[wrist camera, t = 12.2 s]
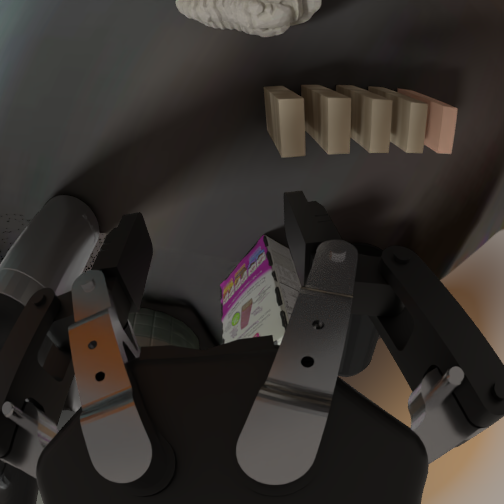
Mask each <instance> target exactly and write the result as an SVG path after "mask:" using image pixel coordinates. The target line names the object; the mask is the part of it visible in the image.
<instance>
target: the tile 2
mask: <svg viewBox="0 0 504 504" xmlns="http://www.w3.org/2000/svg"><path fill="white" fill-rule="evenodd" d="M301 97H302V98H304V117H305V130H306V132H307V133H308V134H309V135H310V136H311V137H312V138H313V139H314V140H315V141H316V142H317V143H318V144H319V145H320V146H321V147H322V148H323V150H324V151H325V152H326V153H327V154H348V153H350V130H351V98H350V97H347V96H345V95H343V94H340V93H338V92H336V91H333V90H331V89H328V88H326V87H323V86H321V85H301Z"/></svg>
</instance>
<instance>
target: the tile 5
mask: <svg viewBox="0 0 504 504" xmlns="http://www.w3.org/2000/svg"><path fill="white" fill-rule="evenodd" d="M397 92H398V93H401V94H403V95H406V96H409V97H411V98H414V99H416V100H419V101H421V102H424V103H426V104H428V110H427V120H426V130H425V138H424V145H426V146H428V147H429V148H431V149H432V150H434V151H435V152H436V153H445V154H451V151H452V146H453V139H454V133H455V126H456V118H457V109H458V108H455V107H453V106H451V105H448V104H446V103H444V102H441V101H439V100H436V99H434V98H431V97H428V96H426V95H423V94H420V93H418V92H415V91H412V90H406V89H398V91H397Z"/></svg>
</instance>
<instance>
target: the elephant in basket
mask: <svg viewBox="0 0 504 504" xmlns="http://www.w3.org/2000/svg"><path fill="white" fill-rule="evenodd" d="M128 320H129V322H130V324H131V326H132V329H133V332H134V335H135V337H136V340H137V343H138V346H139V348H140V351H141V347H146V346H165V345H173V346H179V347H186V348H192V349H199V341H198V338H197V336H195V334H194V332H193V331H192V330H191V329H190V328H189V327H187V326H186V325H185V324H184V323H183V322H182V321H180V320H177V319H175V318H173V317H171V316H169V315H167V314H165V313H163V312H159V311H154V310H151V309H147V308H140V311H139V312H135V313H129V315H128Z"/></svg>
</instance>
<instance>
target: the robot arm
mask: <svg viewBox="0 0 504 504" xmlns="http://www.w3.org/2000/svg"><path fill="white" fill-rule="evenodd" d="M284 224H285V234H286V238H287V242H288V245H289V248H290V251H291V255H292V258H293V261H294V265H295V268H296V271H297V274H298V278H299V281H300V284H301V289H300V291H299V294H298V297H297V300H296V302H295V305H294V308H293V311H292V314H291V317H290V319H289V322H288V325H287V328H286V330H285V333H284V336H283V338H282V341H281V344H280V345H274V341H273V335H268V336H260V337H252V338H244V339H237V340H234V341H231V342H228V343H225V344H222V345H219V346H216V347H213V348H210V349H206V350H199V349H192V348H186V347H179V346H173V345H165V346H146V347H141V351H140V348H139V346H138V343H137V340H136V337H135V335H134V332H133V329H132V326H131V324H130V322H129V320H128V315H129V313H135V312H139V311H140V306H141V302H142V297H143V293H144V288H145V284H146V280H147V275H148V271H149V267H150V263H151V259H152V255H153V248H152V242H151V239H150V236H149V233H148V230H147V227H146V224H145V221H144V218H143V216H142V214H141V213H140V212H138V213H132V214H127V215H123V217H122V219H121V221H120V223H119V225H118V227H117V228H114V229H113V230H112V231H111V232H110V233H109V234H108V235H107V236H106V238H105V241H104V243H103V245H102V247H101V249H100V252H99V253H98V256H97V258H96V260H95V262H94V264H93V267H92V269H91V270H90V271H87V272H85V273H83V274H82V272H83V269H84V267H85V265H86V263H87V261H88V259H89V257H90V255H91V252H92V250H93V248H94V246H95V244H96V242H97V240H98V238H99V224H98V221H97V218H96V217H95V215H94V213H93V212H92V210H91V209H90V208H89V207H88V206H87V205H86V204H85V203H84V202H82V201H81V200H79V199H77V198H75V197H73V196H68V195H59V196H56V197H53V198H52V199H50V200H49V201H48V202H47V203H46V204H45V206H44V207H43V208H42V209H41V210H40V212H38V213H37V214H36V215H35V216H34V218H33V219H32V220H31V221H30V223H29V224H28V225H27V227H26V228H25V229H24V230H23V232H22V233H21V234H20V236H19V237H18V238H17V240H16V241H15V242H14V244H13V245H12V247H11V248H10V249H9V251H8V252H7V254H6V256H5V258H4V259H3V261H2V262H1V264H0V504H36V501H37V495H38V490H39V491H40V494H41V497H42V500H43V503H44V504H421V498H422V493H423V489H424V485H425V482H426V478H427V474H428V464H430V463H431V462H433V461H434V460H436V459H438V458H439V457H441V456H442V455H444V454H445V453H447V452H448V451H450V450H451V449H453V448H454V447H458V446H460V445H461V444H463V443H465V442H466V441H468V440H470V439H471V438H473V437H474V436H476V435H477V434H479V433H481V432H482V431H483V430H485V429H486V428H488V427H489V426H491V425H492V424H494V423H495V422H496V421H498V420H499V419H501V418H502V417H503V416H504V365H503V363H502V362H501V360H500V359H499V357H498V356H497V354H496V353H495V351H494V350H493V348H492V347H491V346H490V344H489V343H488V341H487V340H486V339H485V337H484V336H483V334H482V333H481V332H480V330H479V329H478V328H477V326H476V325H475V324H474V322H473V321H472V320H471V318H470V317H469V316H468V315H467V313H466V312H465V311H464V309H463V308H462V307H461V306H460V304H459V303H458V302H457V301H456V299H455V298H454V297H453V296H452V295H451V294H450V292H449V291H448V290H447V288H446V287H445V286H444V285H443V284H442V283H441V281H440V280H439V279H438V278H437V277H436V276H435V274H434V273H433V272H432V271H431V270H430V269H429V268H428V267H427V265H426V264H425V263H424V262H423V261H422V260H421V259H420V258H419V257H418V255H417V254H416V253H415V252H413V251H412V250H410V249H408V248H406V247H403V246H390V247H387V248H386V249H384V251H383V252H382V256H381V257H375V256H366V255H361V254H358V251H357V249H356V248H355V247H354V246H353V245H352V244H350V243H348V242H346V241H343V240H342V238H341V236H340V234H339V233H338V231H337V229H336V227H335V225H334V224H333V222H332V220H331V218H330V216H328V213H327V211H326V209H325V208H324V207H323V206H322V205H321V204H319V203H318V202H316V201H312V202H308V201H307V199H306V197H305V195H304V194H303V192H302V191H294V192H285V193H284ZM350 314H358V315H368V316H369V318H370V320H371V321H372V323H373V325H374V326H375V328H376V330H377V331H378V333H379V335H380V336H381V338H382V339H383V341H384V343H385V344H386V346H387V348H388V349H389V351H390V353H391V355H392V356H393V358H394V360H395V361H396V363H397V365H398V367H399V368H400V370H401V372H402V374H403V375H404V377H405V379H406V381H407V382H408V384H409V386H410V388H411V390H412V391H413V392H412V393H411V395H410V397H409V401H408V409H409V412H410V415H411V428H409V427H408V426H406V425H405V424H403V423H402V422H401V421H399V420H398V419H396V418H395V417H393V416H392V415H390V414H389V413H387V412H386V411H385V410H383V409H382V408H380V407H379V406H378V405H376V404H375V403H373V402H372V401H371V400H369V399H368V398H367V397H365V396H364V395H362V394H361V393H360V392H358V391H357V390H355V389H354V388H353V387H351V386H350V385H349V384H347V383H346V382H345V381H343V380H342V379H341V378H339V377H338V376H337V375H338V371H339V367H340V362H341V358H342V353H343V348H344V344H345V339H346V334H347V328H348V323H349V317H350ZM74 375H75V377H76V383H77V388H78V392H79V397H80V401H81V407H80V409H79V410H78V411H77V412H76V413H75V414H74V415H73V416H72V418H71V419H70V420H69V421H68V422H67V423H66V424H65V425H64V427H62V429H61V430H60V431H59V432H58V431H57V424H58V421H59V418H60V415H61V412H62V409H63V406H64V403H65V400H66V397H67V394H68V391H69V388H70V386H71V383H72V380H73V377H74Z"/></svg>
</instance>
